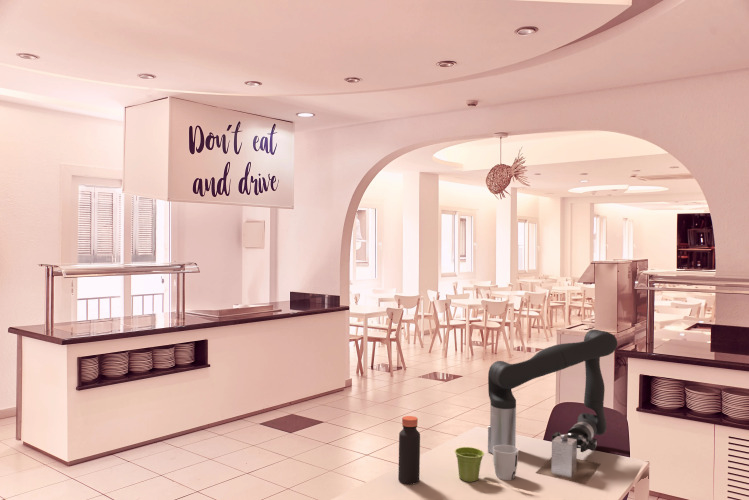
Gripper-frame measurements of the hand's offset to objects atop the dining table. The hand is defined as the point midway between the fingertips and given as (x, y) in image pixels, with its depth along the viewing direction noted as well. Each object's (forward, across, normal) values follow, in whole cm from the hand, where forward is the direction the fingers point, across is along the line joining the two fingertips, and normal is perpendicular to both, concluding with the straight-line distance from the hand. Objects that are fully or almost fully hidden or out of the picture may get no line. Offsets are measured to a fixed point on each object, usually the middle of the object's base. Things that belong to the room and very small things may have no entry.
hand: (568, 446), depth 192 cm
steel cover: (+5, 0, +7) cm, 9 cm away
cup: (+20, -15, +9) cm, 26 cm away
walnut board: (-1, 0, +8) cm, 8 cm away
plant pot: (+26, -25, +9) cm, 37 cm away
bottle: (+39, -40, +9) cm, 56 cm away
